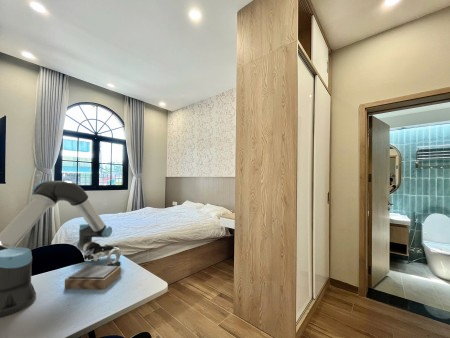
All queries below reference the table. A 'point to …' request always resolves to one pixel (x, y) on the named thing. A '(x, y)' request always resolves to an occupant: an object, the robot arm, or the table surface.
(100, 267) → the riser
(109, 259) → the watch
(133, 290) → the table surface
